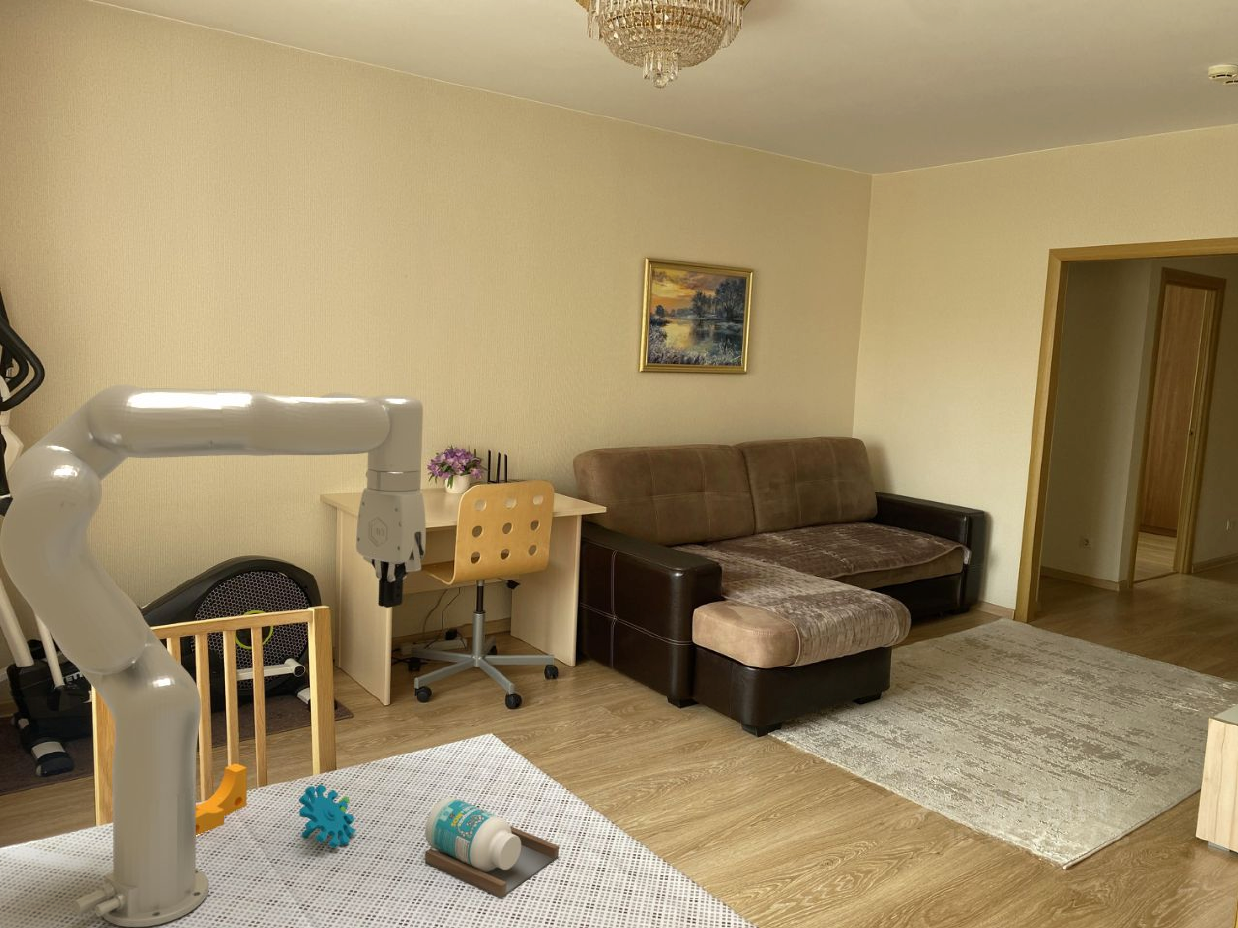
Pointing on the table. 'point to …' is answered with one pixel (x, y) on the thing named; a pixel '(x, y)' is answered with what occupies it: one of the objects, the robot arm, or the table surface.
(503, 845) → the pill bottle
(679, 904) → the table surface
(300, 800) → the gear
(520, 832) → the cradle
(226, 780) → the pipe clamp
